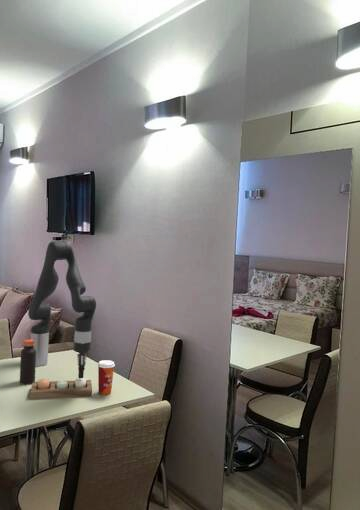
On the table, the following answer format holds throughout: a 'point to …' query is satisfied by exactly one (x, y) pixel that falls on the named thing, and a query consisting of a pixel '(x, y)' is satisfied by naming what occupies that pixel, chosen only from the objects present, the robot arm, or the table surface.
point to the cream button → (80, 383)
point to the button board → (60, 390)
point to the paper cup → (105, 376)
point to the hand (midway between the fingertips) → (80, 377)
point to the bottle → (28, 362)
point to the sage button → (62, 384)
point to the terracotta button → (43, 384)
